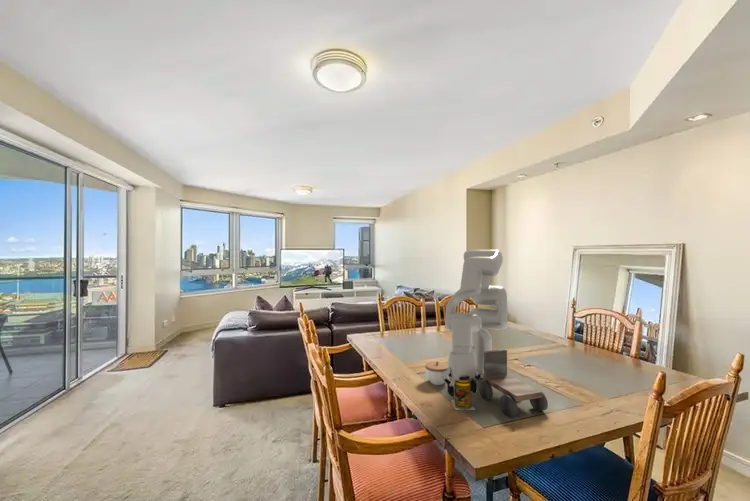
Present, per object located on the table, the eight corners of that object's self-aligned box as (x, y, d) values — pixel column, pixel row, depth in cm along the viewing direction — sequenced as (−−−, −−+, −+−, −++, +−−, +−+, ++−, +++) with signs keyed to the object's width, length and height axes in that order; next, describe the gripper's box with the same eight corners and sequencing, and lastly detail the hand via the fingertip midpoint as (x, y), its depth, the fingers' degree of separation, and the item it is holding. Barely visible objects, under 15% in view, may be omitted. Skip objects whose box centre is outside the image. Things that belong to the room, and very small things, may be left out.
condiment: (455, 410, 124) (455, 378, 124) (450, 400, 132) (450, 370, 132) (475, 410, 124) (474, 378, 124) (469, 400, 132) (468, 370, 132)
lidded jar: (431, 388, 144) (431, 366, 144) (421, 379, 154) (421, 359, 154) (453, 385, 147) (453, 364, 147) (442, 376, 157) (442, 356, 157)
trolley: (478, 395, 136) (477, 351, 136) (509, 390, 140) (508, 348, 140) (512, 420, 116) (512, 368, 116) (547, 414, 120) (547, 364, 120)
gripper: (475, 344, 134) (476, 387, 134) (437, 348, 129) (437, 392, 129) (487, 349, 127) (487, 394, 127) (446, 353, 122) (446, 400, 122)
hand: (462, 393), depth 128 cm, fingers open, 9 cm apart
